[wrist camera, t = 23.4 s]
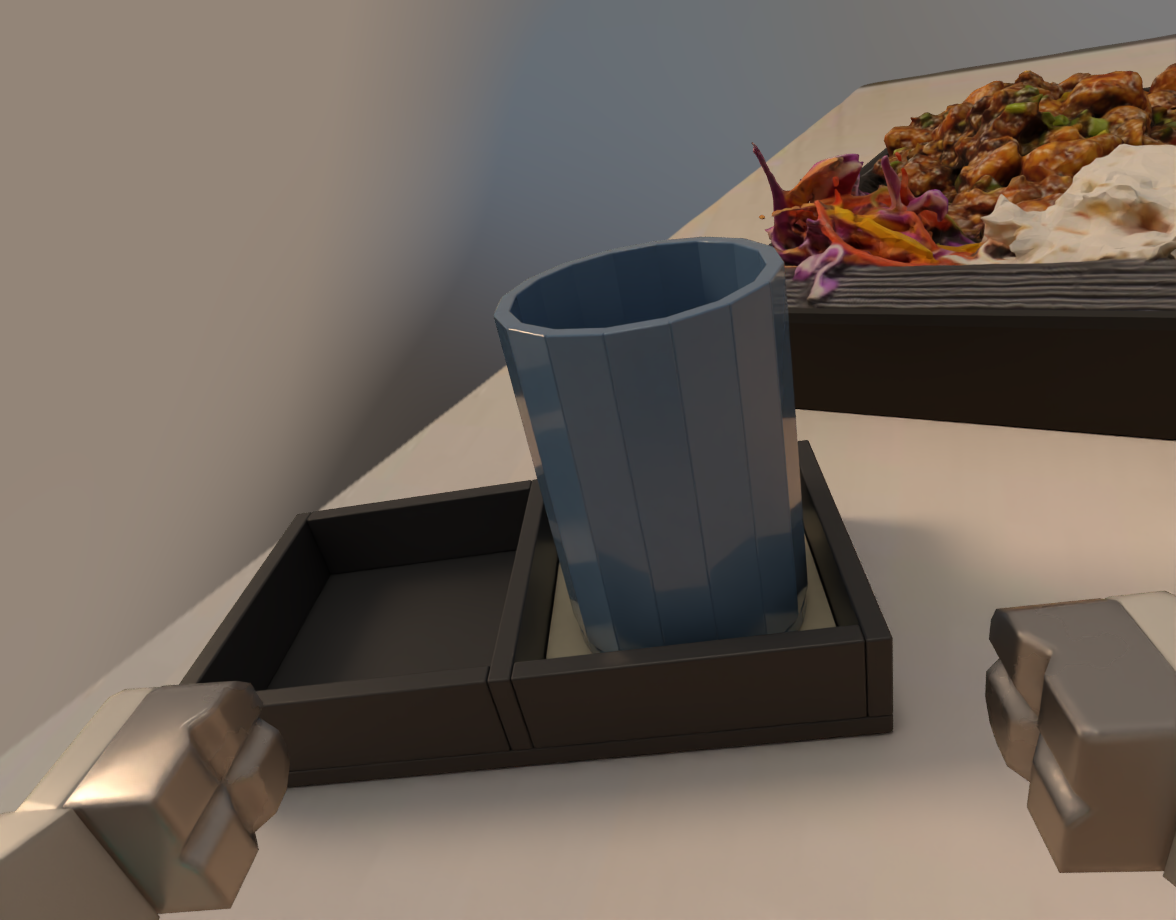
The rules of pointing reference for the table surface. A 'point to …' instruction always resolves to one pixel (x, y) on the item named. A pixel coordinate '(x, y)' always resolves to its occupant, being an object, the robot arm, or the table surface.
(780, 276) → the blue cup
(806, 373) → the food platter
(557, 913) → the table surface
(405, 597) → the tray
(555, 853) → the table surface
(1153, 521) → the table surface
